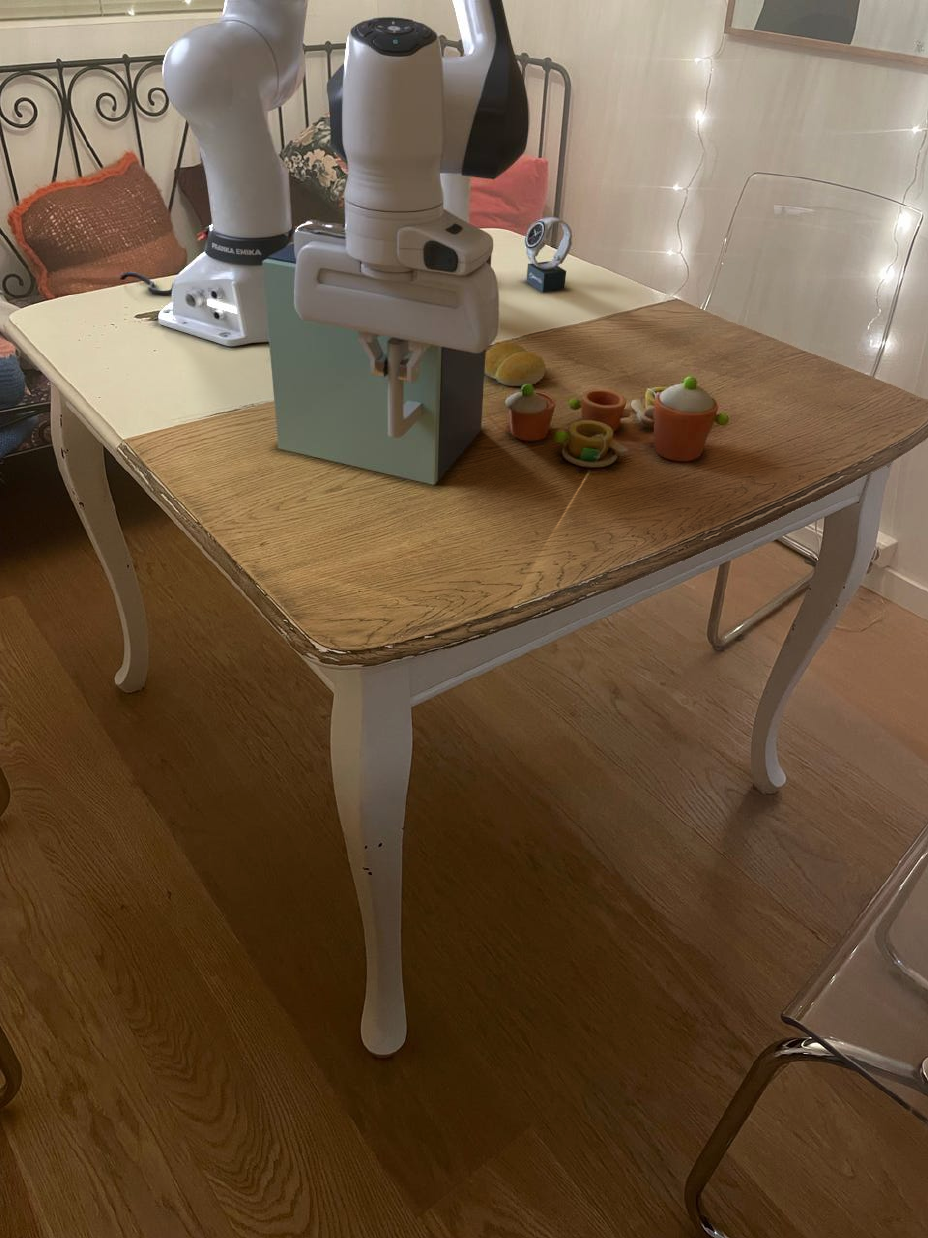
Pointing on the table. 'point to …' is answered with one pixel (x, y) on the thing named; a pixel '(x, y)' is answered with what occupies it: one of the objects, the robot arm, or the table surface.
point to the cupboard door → (348, 392)
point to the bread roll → (513, 365)
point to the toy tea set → (670, 410)
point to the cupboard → (448, 393)
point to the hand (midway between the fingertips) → (394, 376)
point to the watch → (549, 272)
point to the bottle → (456, 194)
